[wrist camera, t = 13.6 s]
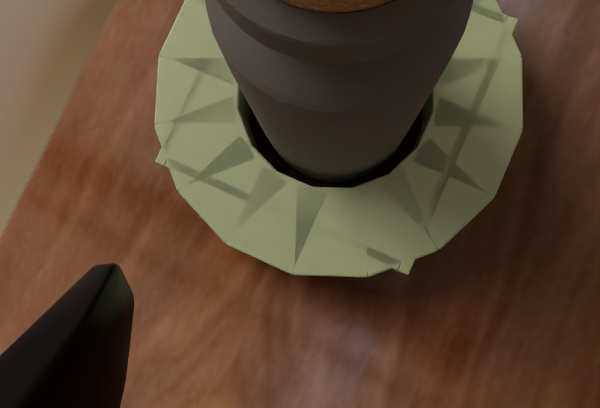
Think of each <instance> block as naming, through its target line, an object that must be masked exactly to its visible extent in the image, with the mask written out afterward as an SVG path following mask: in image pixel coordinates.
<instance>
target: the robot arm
mask: <svg viewBox="0 0 600 408" xmlns="http://www.w3.org/2000/svg"><path fill="white" fill-rule="evenodd" d="M133 312H134V297H133V293H132V291H131V288H130V286H129V284H128V282H127V280H126V278H125V276H124V274H123V272H122V269H121V268H120V266H119V265H117V264H114V263H112V264H102V265H96V266H94V267H92V268H91V269H90V270H89V271H88V272H87V273H86V274H85V275H84V276H83V277H82V278H81V279H79V280H78V281H77V282H76V283H75V284H74V285H73V286H72V287H71V288H70V289H69V290H68V291H67V292H66V293H65V294H64V295H63V296H62V297H61V298H60V299H59V300H58V301H57V302H56V303H54V304H53V305H52V306H51V307H50V308H49V309H48V310H47V311H46V312H45V313H44V314H43V315H42V316H41V317H40V318H39V319H38V320H37V321H36V322H35V323H34V324H33V325H32V326H31V327H29V328H28V329H27V330H26V331H25V332H24V333H23V334H22V335H21V336H20V337H19V338H18V339H17V340H16V341H15V342H14V343H13V344H12V345H11V346H10V347H9V348H8V349H7V350H6V351H4V352H3V353H2V354H1V355H0V408H120V404H121V400H122V396H123V391H124V386H125V381H126V374H127V366H128V357H129V348H130V339H131V330H132V321H133Z"/></svg>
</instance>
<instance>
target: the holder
mask: <svg viewBox="0 0 600 408" xmlns="http://www.w3.org/2000/svg"><path fill="white" fill-rule="evenodd" d="M517 23H518V19H516V18H513V17H511V16H507V15H505V14H503V13H502V11H501V9H500V7H499V4H498V2H497V0H473V4H472V8H471V13H470V16H469V20H468V23H467V26H466V29H465V32H464V34H463V36H462V38H461V40H460V42H459V44H458V46H457V48H456V50H455V52H454V54H453V56H452V58H451V60H450V61H449V63H448V65H447V66H446V68H445V70H444V72H443V73H442V75H441V77H440V78H439V80H438V82H437V84H436V85H435V87H434V89H433V91H432V92H431V94H430V96H429V97H428V99H427V101H426V103H425V104H424V106H423V108H422V129H421V131H420V134H419V136H418V138H417V140H416V143H415V145H414V147H413V150H412V152H411V153H410V154H409V155H408V156H407V157H406V158H405V159H404V160H403V161H401V162H400V163H399V164H398V165H397V166H396V167H395V168H394V169H393V170H392V171H391V172H390V173H389V174H387V175H384V176H382V177H379V178H376V179H374V180H371V181H369V182H366V183H363V184H361V185H358V186H356V187H353V188H339V187H312V186H310V185H307V184H305V183H303V182H300V181H298V180H296V179H294V178H291V177H289V176H287V175H284V174H282V173H280V172H278V171H277V170H276V169H275V168H274V167H273V166H272V165H271V164H270V163H269V162H268V161H267V160H266V159H265V158H264V157H263V156H262V155H261V154H260V152H259V150H258V147H257V144H256V142H255V139H254V136H253V134H252V131H251V128H250V126H249V123H250V106H249V104H248V102H247V100H246V98H245V97H244V95H243V93H242V91H241V89H240V87H239V86H238V84H237V82H236V80H235V78H234V77H233V75H232V73H231V71H230V69H229V67H228V65H227V63H226V60H225V58H224V56H223V54H222V52H221V50H220V48H219V46H218V43H217V41H216V39H215V37H214V35H213V33H212V29H211V25H210V21H209V18H208V14H207V9H206V3H205V0H185V1H184V3H183V6H182V8H181V10H180V12H179V14H178V16H177V18H176V20H175V22H174V24H173V26H172V29H171V31H170V33H169V35H168V37H167V39H166V41H165V43H164V45H163V47H162V49H161V52H160V54H159V58H158V72H157V89H156V106H155V129H156V132H157V135H158V138H159V141H160V144H161V146H162V148H161V150H160V152H159V154H158V157H157V159H156V161H155V162H156V163H157V164H159V165H161V166H163V167H165V168H167V169H169V170H170V172H171V175H172V178H173V181H174V183H175V186H176V189H177V190H178V191H179V194H180V195H181V196H182V197H183V198H184V199H185V200H186V201H187V202H188V204H189V205H190V206H191V207H192V208H193V209H194V210H195V211H196V212H197V213H198V214H199V216H200V217H201V218H202V219H203V220H204V221H205V222H206V223H207V224H208V225H209V227H210V228H211V229H212V230H213V231H214V232H215V233H216V234H217V235H218V236H219V237H220V239H221V240H222V241H223V242H224V243H226V244H227V245H228V246H230V247H233V248H235V249H237V250H239V251H241V252H243V253H246V254H248V255H250V256H252V257H254V258H257V259H259V260H261V261H263V262H265V263H267V264H270V265H272V266H274V267H276V268H278V269H280V270H283V271H285V272H287V273H289V274H293V275H306V276H336V277H371V276H373V275H376V274H379V273H381V272H384V271H387V270H389V269H392V270H393V271H396V272H398V273H401V274H405V275H409V273H410V270H411V268H412V266H413V263H414V261H415V260H416V259H418V258H421V257H424V256H426V255H429V254H432V253H434V252H437V251H438V250H439V249H441V248H442V247H444V246H445V245H446V244H447V243H448V242H449V241H450V240H451V239H452V238H453V237H454V236H455V235H456V234H457V233H458V232H459V231H460V230H461V229H462V228H463V227H464V226H466V225H467V224H468V223H469V222H470V221H471V220H472V219H473V218H474V217H475V216H476V215H477V214H478V213H479V212H480V211H481V210H482V209H483V208H484V207H485V206H486V205H488V204H489V203H490V202H491V201H492V199H493V198H494V197H495V195H496V193H497V190H498V188H499V186H500V183H501V181H502V179H503V176H504V174H505V172H506V169H507V167H508V164H509V162H510V160H511V157H512V155H513V153H514V150H515V148H516V146H517V143H518V141H519V139H520V136H521V134H522V129H523V78H522V58H521V57H522V55H521V53H520V51H519V49H518V46H517V44H516V42H515V40H514V38H513V35H512V34H513V32H514V30H515V27H516V25H517Z"/></svg>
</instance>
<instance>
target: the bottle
mask: <svg viewBox="0 0 600 408" xmlns="http://www.w3.org/2000/svg"><path fill="white" fill-rule="evenodd" d="M205 3H206V9H207V14H208V18H209V21H210V25H211V29H212V33H213V35H214V37H215V39H216V41H217V43H218V46H219V48H220V50H221V52H222V54H223V56H224V58H225V60H226V63H227V65H228V67H229V69H230V71H231V73H232V75H233V77H234V78H235V80H236V82H237V84H238V86H239V87H240V89H241V91H242V93H243V95H244V97H245V98H246V100H247V102H248V104H249V106H250V107H251V109H252V111H253V113H254V115H255V117H256V118H257V120H258V122H259V124H260V126H261V127H262V129H263V131H264V133H265V134H266V136H267V138H268V139H269V141H270V143H271V144H272V146H273V148H274V149H275V150H276V152H277V153H278V155H279V156H280V157H281V158H282V159H283V160H284V161H285V162H286V163H287V164H288V165H289V166H290V167H292V168H293V169H294V170H296V171H297V172H299V173H301V174H303V175H305V176H307V177H309V178H312V179H315V180H320V181H325V182H346V181H351V180H355V179H358V178H361V177H363V176H366V175H368V174H370V173H372V172H373V171H375V170H376V169H378V168H379V167H380V166H382V165H383V164H384V163H385V162H386V161H387V160H388V159H389V158H390V157H391V156H392V155H393V153H394V152H395V151H396V150H397V148H398V146H399V145H400V143H401V142H402V140H403V139H404V137H405V135H406V134H407V132H408V130H409V129H410V127H411V126H412V124H413V122H414V121H415V119H416V117H417V116H418V114H419V112H420V111H421V109H422V108H423V106H424V104H425V103H426V101H427V99H428V97H429V96H430V94H431V92H432V91H433V89H434V87H435V85H436V84H437V82H438V80H439V78H440V77H441V75H442V73H443V72H444V70H445V68H446V66H447V65H448V63H449V61H450V60H451V58H452V56H453V54H454V52H455V50H456V48H457V46H458V44H459V42H460V40H461V38H462V36H463V34H464V32H465V29H466V26H467V23H468V20H469V16H470V13H471V8H472V4H473V0H205Z"/></svg>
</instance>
